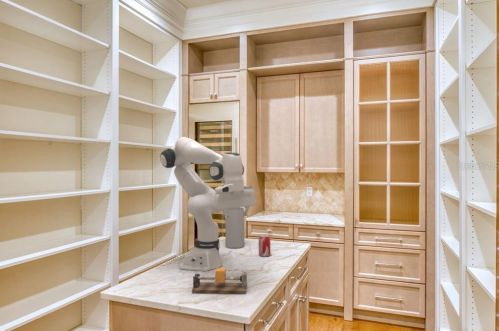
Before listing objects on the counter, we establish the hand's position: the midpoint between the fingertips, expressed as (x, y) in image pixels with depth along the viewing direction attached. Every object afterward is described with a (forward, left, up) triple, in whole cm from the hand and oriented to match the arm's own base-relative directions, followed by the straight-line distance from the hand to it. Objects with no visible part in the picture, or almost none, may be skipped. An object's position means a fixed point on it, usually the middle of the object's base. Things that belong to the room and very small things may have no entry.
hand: (236, 217), depth 151 cm
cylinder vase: (-8, +66, -31) cm, 74 cm away
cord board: (-7, -8, -31) cm, 32 cm away
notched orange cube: (-6, -8, -27) cm, 28 cm away
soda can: (+12, +45, -31) cm, 56 cm away
